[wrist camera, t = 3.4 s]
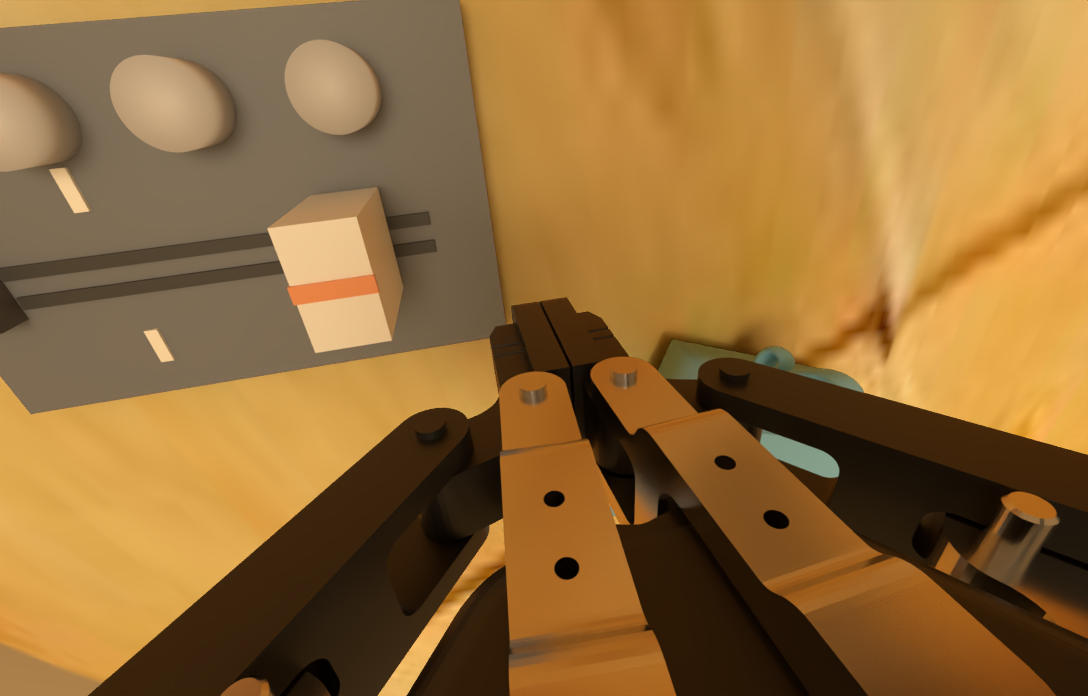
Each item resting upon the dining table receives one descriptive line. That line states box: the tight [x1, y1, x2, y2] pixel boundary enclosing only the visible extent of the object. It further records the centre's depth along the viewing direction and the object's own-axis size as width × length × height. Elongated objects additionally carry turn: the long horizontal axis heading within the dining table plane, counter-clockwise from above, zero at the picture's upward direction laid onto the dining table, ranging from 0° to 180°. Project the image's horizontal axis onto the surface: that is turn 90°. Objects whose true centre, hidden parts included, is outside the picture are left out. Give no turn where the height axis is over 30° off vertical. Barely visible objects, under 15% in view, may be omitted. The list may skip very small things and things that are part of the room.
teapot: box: [610, 339, 864, 516], centre depth 29 cm, size 18×16×13 cm
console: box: [0, 0, 506, 414], centre depth 21 cm, size 25×16×4 cm, turn 96°
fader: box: [267, 187, 403, 353], centre depth 20 cm, size 3×5×6 cm, turn 6°
